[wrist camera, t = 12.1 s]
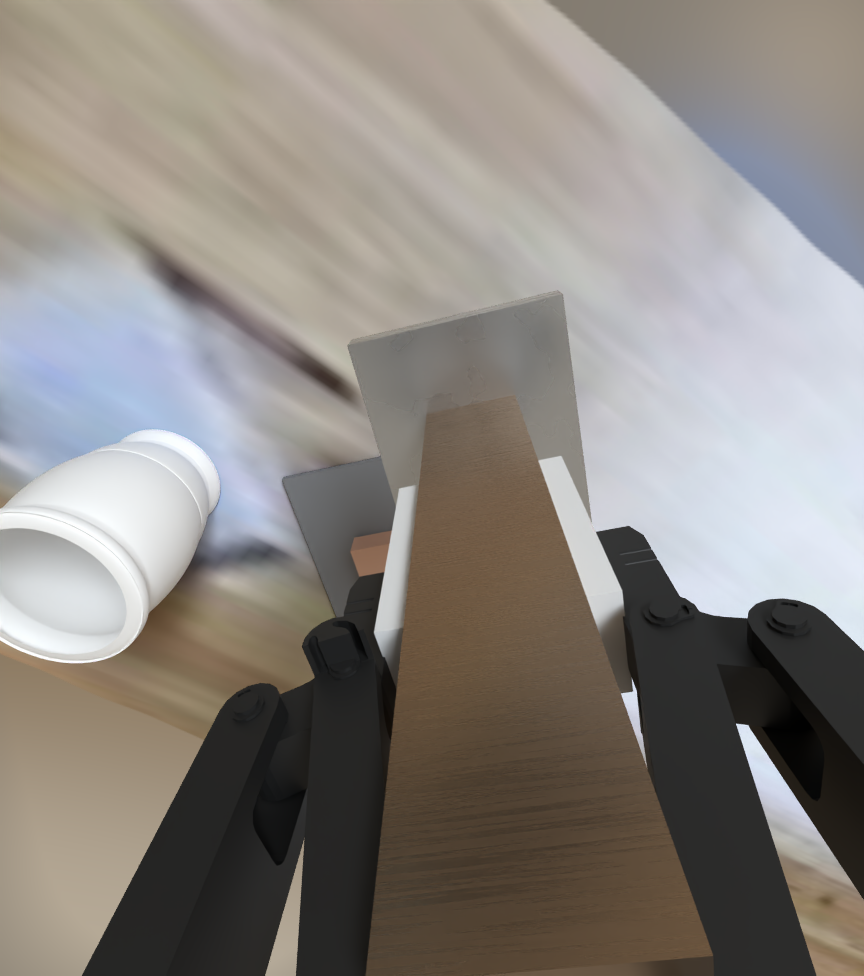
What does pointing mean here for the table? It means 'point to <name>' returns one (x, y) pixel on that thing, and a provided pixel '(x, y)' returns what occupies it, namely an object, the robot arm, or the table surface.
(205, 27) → the table surface
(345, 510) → the slate rubber mat
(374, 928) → the tall wooden post
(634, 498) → the table surface
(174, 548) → the jar
